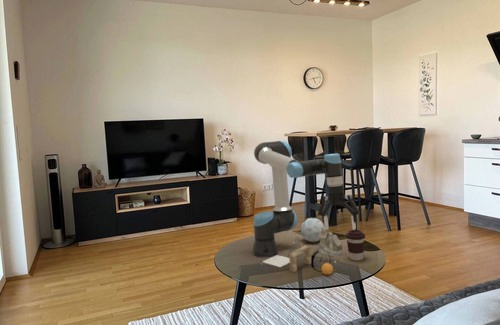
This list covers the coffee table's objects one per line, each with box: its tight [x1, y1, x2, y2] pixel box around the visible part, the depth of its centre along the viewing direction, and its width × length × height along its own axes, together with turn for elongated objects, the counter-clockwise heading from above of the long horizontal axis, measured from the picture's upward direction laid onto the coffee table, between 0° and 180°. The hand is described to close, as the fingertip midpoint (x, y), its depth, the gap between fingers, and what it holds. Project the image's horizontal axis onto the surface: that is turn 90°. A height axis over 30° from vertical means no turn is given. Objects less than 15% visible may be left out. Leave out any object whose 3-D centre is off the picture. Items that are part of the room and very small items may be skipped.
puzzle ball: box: [300, 217, 326, 243], centre depth 233 cm, size 15×15×15 cm
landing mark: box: [262, 254, 290, 268], centre depth 203 cm, size 13×13×1 cm
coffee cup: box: [345, 229, 366, 262], centre depth 199 cm, size 10×10×15 cm
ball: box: [321, 262, 334, 276], centre depth 181 cm, size 6×6×6 cm
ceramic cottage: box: [317, 227, 345, 258], centre depth 213 cm, size 16×16×15 cm
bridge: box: [288, 245, 312, 273], centre depth 192 cm, size 3×14×9 cm, turn 136°
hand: (340, 229), depth 179 cm, fingers open, 13 cm apart
